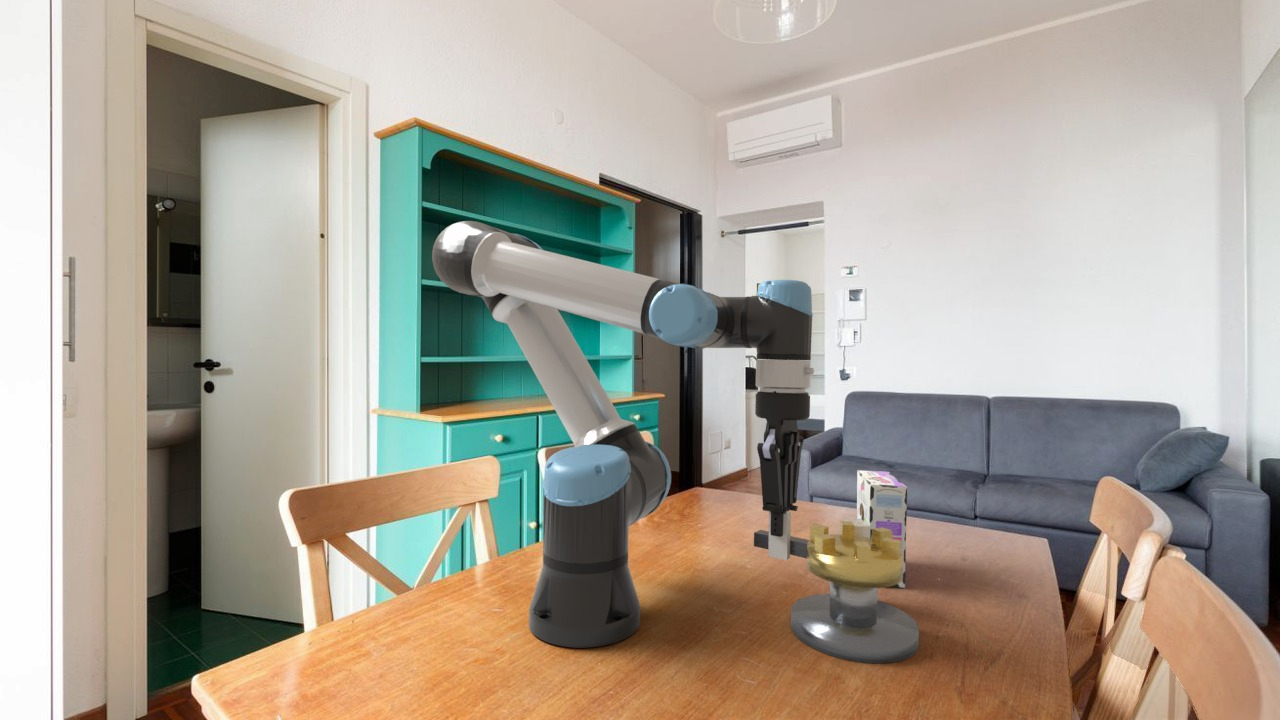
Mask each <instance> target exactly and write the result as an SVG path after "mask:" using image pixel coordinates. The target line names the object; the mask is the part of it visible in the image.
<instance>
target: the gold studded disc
mask: <svg viewBox="0 0 1280 720" xmlns="http://www.w3.org/2000/svg"><path fill="white" fill-rule="evenodd" d="M768 544H769V530H768V531H767V530H762V529H758V530H757V531H755V532H754V533H753V547H755V548H760V549H765V550H768ZM790 556H795V557H798V558H799V557H800V558H801V559H802V558H803V559H806V567H807V569H808V571H809V572H810V573H811V574H813V575H814V576H816V577H818V578H821V579H822V580H825V581H827V582H829V583H830V582H834V583H837V584H841V585H846V586H853V587H861V588H878V589H881V588H889V587H890V588H891V586H894V585H896V584H898V583H900V582H901V581H902V579H903V553H902V541H901V540H896V539H892V530H889V529H886V528H884V527H883V528H875V529H872V538H867V537H861V536H854V524H853V523H852V522H850V521H845V520H839V534H829V526H827V525H824V524H823V525H822V524H818V523H814V524H812V525H809V539H806V538H803V537H802V538H801V537H796V536H793V535H790Z"/></svg>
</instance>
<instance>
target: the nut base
mask: <svg viewBox="0 0 1280 720" xmlns="http://www.w3.org/2000/svg"><path fill="white" fill-rule="evenodd" d="M844 521H850V522H852V523H853V524H854V536H861V537H867V538H870V526H869V525H868V524H867V523H865V522H864V521H863V520H862V519H857V518H844ZM878 589H879V588H861V587H853V586H846V585H841V584H837V583H834V582H830V581H829V593H818V594H813V595H808V596H804V597H802V598H800V599H798V600H796V601H795V602H794V603H793V604H792V605H791V610H790V628H791V630H792V632H793V634H794V635H795V637H796V638H797V639H798V640H799V641H800V642H802V643H803V644H805V645H806V646H809V647H810V648H812V649H813V650H816V651H818V652H820V653H822V654H826V655H829V656H830V657H834V658H836V659H841V660H844V661H845V660H846V661H850V662H856V663H865V664H890V663H898V662H901V661H905V660H908V659H910V658H911V657H913V656H914V655H915V654H916V653H917V652H918V650H919V643H920V629H919V625H918V622H917V621H916V620H915V619H914V618H913V617H912V616H911V615H909V614H908V613H906V611H903V610H902V609H900V608H898V607H896V606H893V605H892V604H889V603H887V602H883V601H881V600H878V591H879V590H878Z"/></svg>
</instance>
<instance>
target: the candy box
mask: <svg viewBox="0 0 1280 720" xmlns="http://www.w3.org/2000/svg"><path fill="white" fill-rule="evenodd" d="M907 508H908V486H906V485H905V484H904V483H902V482H901V481H900V480H899V479H897V477H895V476H894V475H893V474H892V473H891V472H890V471H883V470H882V471H880V470H879V471H878V470H856V519H862V520H863V521H864V522H865V523H867V524H868V525H869V526H870V538H872V529H875V528H883V527H884V528H886V529H889V530H892V539H896V540H901V541H902V553H903V579H902V581H901V582H900V583H898V584H896V585H894V586H890V588H891V587H892V588H902V589H903V588H906V563H907V561H906V560H907V559H906V555H907V552H906V551H907V547H906V546H907V541H906V540H907V519H908V518H907V513H908V512H907V511H908V510H907Z"/></svg>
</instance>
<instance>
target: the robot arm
mask: <svg viewBox="0 0 1280 720" xmlns="http://www.w3.org/2000/svg"><path fill="white" fill-rule="evenodd" d="M431 252H432V253H431V254H432V255H431V257H432V258H431V259H432V265H433V268H434V271H435V274H436V275H437V277H438V278H439V280H440V282H442V283H443V284H444V285H445V286H447V287H448V288H449V289H451V290H453V291H455V292H458V293H459V294H465V295H468V296H472V297H474V296H475V297H479V298H481V299H482V300H483V301H484V303H485V305H486V307H487V309H488V311H489V312H490V314H491V316H492V317H493V319H494V320H495V321H496V322H498V323H503V324H506V325H507V327H508V328H509V329H510V331H511V333H512V335H513V337H514V338H515V340H516V342H517V344H518V346H519V347H520V350H521V351H522V353H523V355H524V357H525V358H526V360H527V362H528V364H529V366H530V367H531V369H532V371H533V373H534V375H535V376H536V379H537V380H538V382H539V384H540V385H541V387H542V389H543V391H544V393H545V394H546V396H547V398H548V400H549V401H550V404H551V406H552V407H553V408H554V411H555V412H556V414H557V416H558V417H559V420H560V421H561V424H562V426H563V427H564V428H565V430H566V432H567V435H568V436H569V437H570V440H571V441H572V443H573V444H574V446H571V447H567V448H564V449H561V450H559V451H556V452H555V453H553V454H552V455H551V456H550V457H549V458H548V459H547V461H546V462H545V466H544V476H543V477H544V478H543V480H542V488H541V489H542V493H543V498H542V500H543V501H542V503H543V508H542V510H543V511H542V512H543V513H542V515H543V516H542V517H543V519H542V520H543V521H542V522H543V523H542V524H543V525H542V530H543V531H542V535H543V536H542V539H543V541H542V567H541V572H540V573H539V574H540V575H539V577H538V580H537V582H536V586H535V589H534V592H533V594H532V598H531V602H530V604H529V609H528V610H529V611H528V627H529V631H530V632H531V633H532V634H533V635H534V636H535V637H536V638H538V639H540V640H542V641H543V642H546V643H549V644H551V645H554V646H555V645H556V646H559V647H564V648H565V647H567V648H575V649H576V648H577V649H579V648H580V649H581V648H597V647H602V646H607V645H612V644H615V643H618V642H620V641H624V640H625V639H627V638H629V637H630V636H632V635H634V633H635V632H636V631H637V630H638V628H639V627H640V625H641V603H640V600H639V596H638V594H637V590H636V587H635V583H634V580H633V577H632V574H631V570H630V567H629V531H630V530H629V527H631V526H632V525H634V524H635V523H637V522H638V521H640V520H641V519H644V518H646V517H647V516H649V515H651V514H653V513H654V512H655V511H656V510H657V509H658V508H659V507H660V505H661V504H662V503H663V502H664V501H665V499H666V498H667V496H668V494H669V490H670V488H671V485H672V471H671V467H670V463H669V460H668V459H667V457H666V455H665V454H664V452H663V451H662V450H661V449H660V448H658V446H656V445H655V444H652V443H651V442H648V441H645V439H644V437H643V435H642V434H641V432H640V431H639V429H638V427H637V425H636V424H635V423H634V421H629V420H626V419H622V418H621V417H620V414H619V413H618V411H617V409H616V407H615V406H614V404H613V403H612V401H611V399H610V397H609V396H608V394H607V392H606V390H605V388H604V387H603V385H602V384H601V382H600V380H599V379H598V376H597V375H596V373H595V372H594V370H593V368H592V367H591V364H590V362H589V361H588V360H587V358H586V356H585V355H584V353H583V351H582V349H581V347H580V345H579V344H578V342H577V341H576V339H575V337H574V336H573V334H572V332H571V330H570V328H569V326H568V325H567V323H566V322H565V319H564V318H563V317H562V315H561V313H560V311H563V312H566V313H570V314H573V315H576V316H579V317H584V318H588V319H590V320H594V321H598V322H600V323H606V324H607V325H611V326H612V325H613V326H615V327H618V328H623V329H626V330H629V331H633V332H636V333H641V334H643V335H647V336H650V337H651V338H652V337H653V338H656V339H659V340H661V341H664V342H666V343H667V344H669V345H671V346H672V345H673V346H677V347H681V348H693V349H700V350H701V349H703V350H704V349H742V348H743V349H755V350H756V361H755V363H756V364H755V369H756V370H755V387H756V388H759V391H757V392H756V393H755V404H754V406H755V409H754V411H755V412H754V413H755V416H756V417H757V418H759V419H765V421H766V424H765V430H764V434H763V442H758V443H757V447H756V450H757V454H758V457H759V458H758V459H759V467H760V479H761V480H760V481H761V484H760V485H761V494H762V495H761V496H762V511H764V512H768V531H769V544H768V549H767V550H768V551H767V553H768V554H767V556H768V558H769V557H770V558H774V559H778V560H781V561H782V560H783V561H788V560H789V559H790V558H791V555H790V536H791V525H792V518H791V517H792V512H797V511H798V507H799V506H798V505H794V504H796V503H797V499H798V498H797V497H798V489H799V478H800V468H801V467H800V465H801V455H802V451H803V450H802V449H803V445H804V442H805V441H804V437H803V436H800V432H799V431H798V429H799V428H798V421H806V420H808V419H809V418H810V415H811V414H810V413H811V395H810V394H809V392H806V390H808V389H810V387H811V375H813V374H814V373H815V368H813V367H811V359H812V334H813V329H812V328H813V316H814V315H813V308H812V307H813V306H812V304H813V302H812V301H813V300H812V298H813V297H812V288H811V286H810V285H808V283H806V282H804V281H802V280H794V279H775V280H766V281H762V282H760V283H759V285H758V287H757V292H756V295H751V296H719V295H717V294H713V293H710V292H707V291H705V290H704V289H702V288H701V287H698V286H695V285H692V284H687V283H676V282H673V281H668V280H663V279H660V278H656V277H653V276H649V275H646V274H645V275H644V274H641V273H636V272H633V271H628V270H624V269H620V268H616V267H612V266H609V265H604V264H600V263H597V262H592V261H588V260H584V259H580V258H576V257H572V256H568V255H564V254H560V253H557V252H552V251H547V250H544V249H543V248H542V247H541V246H540V245H539V244H538V243H536V242H534V241H533V240H532V239H530V238H528V237H526V236H525V235H521V234H518V233H511V232H508V231H505V230H502V229H500V228H497V227H494V226H492V225H488V224H485V223H482V222H479V221H474V220H464V221H463V220H462V221H458V222H455V223H452V224H450V225H448V226H447V227H446V228H444V230H442V231H441V232H440V233H439V234H438V236H437V237H436V239H435V241H434V243H433V246H432V251H431ZM791 511H792V512H791Z"/></svg>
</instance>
